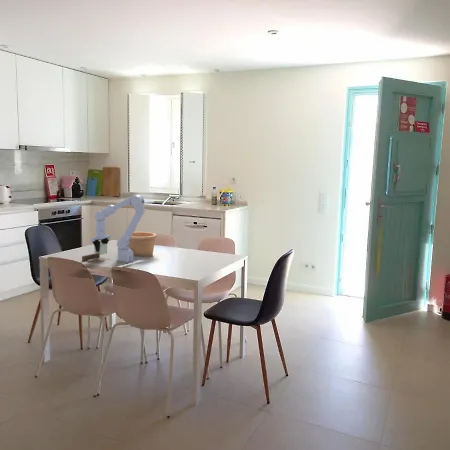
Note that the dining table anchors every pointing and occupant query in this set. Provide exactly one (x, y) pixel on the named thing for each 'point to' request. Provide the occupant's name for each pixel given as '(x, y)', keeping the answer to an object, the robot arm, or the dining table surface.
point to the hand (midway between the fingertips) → (100, 250)
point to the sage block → (101, 249)
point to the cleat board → (93, 258)
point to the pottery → (142, 243)
